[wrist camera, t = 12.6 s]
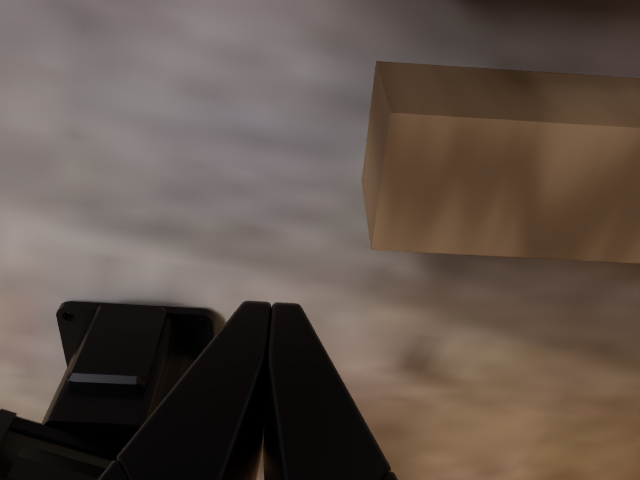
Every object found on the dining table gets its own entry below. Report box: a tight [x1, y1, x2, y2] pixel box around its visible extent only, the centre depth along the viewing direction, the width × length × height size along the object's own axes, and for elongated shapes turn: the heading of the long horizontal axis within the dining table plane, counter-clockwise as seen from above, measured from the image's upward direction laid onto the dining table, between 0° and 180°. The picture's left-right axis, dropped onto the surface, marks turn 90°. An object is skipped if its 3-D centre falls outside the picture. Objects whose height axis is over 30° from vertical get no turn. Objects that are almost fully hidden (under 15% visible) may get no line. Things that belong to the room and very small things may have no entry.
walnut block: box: [362, 61, 640, 264], centre depth 20 cm, size 4×4×10 cm
